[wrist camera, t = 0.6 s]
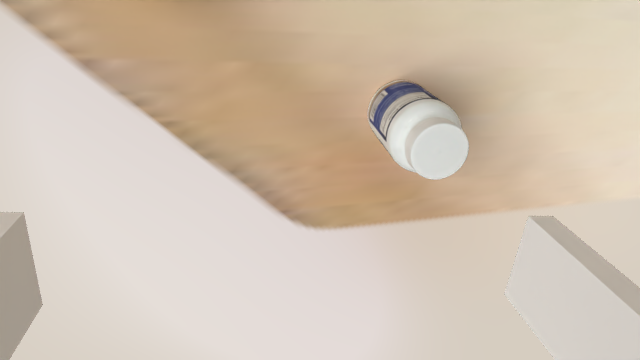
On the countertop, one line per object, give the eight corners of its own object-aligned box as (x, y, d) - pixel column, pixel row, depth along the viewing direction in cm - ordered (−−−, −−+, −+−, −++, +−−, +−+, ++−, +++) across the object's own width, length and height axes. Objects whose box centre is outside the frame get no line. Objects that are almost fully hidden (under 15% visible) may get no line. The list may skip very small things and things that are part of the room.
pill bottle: (435, 125, 40) (487, 170, 31) (377, 150, 40) (413, 201, 31) (418, 67, 38) (469, 98, 29) (357, 93, 38) (389, 132, 29)
